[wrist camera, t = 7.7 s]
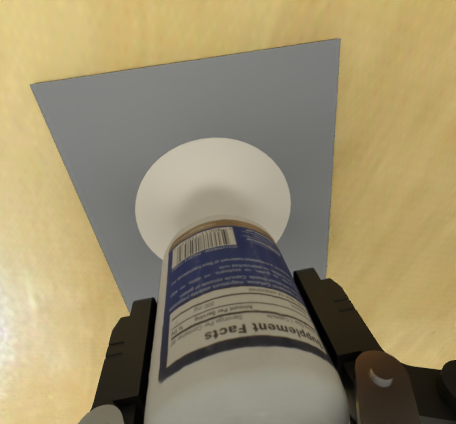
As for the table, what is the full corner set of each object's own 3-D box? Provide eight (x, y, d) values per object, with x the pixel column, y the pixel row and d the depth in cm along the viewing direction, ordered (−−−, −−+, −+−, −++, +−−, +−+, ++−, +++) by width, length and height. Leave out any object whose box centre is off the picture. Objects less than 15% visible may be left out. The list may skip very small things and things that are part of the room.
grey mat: (336, 38, 13) (341, 38, 13) (322, 286, 21) (325, 291, 21) (33, 84, 13) (28, 84, 12) (136, 321, 21) (135, 327, 20)
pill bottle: (248, 310, 15) (324, 628, 7) (148, 289, 14) (88, 669, 5) (297, 229, 13) (499, 553, 5) (185, 193, 12) (181, 585, 3)
